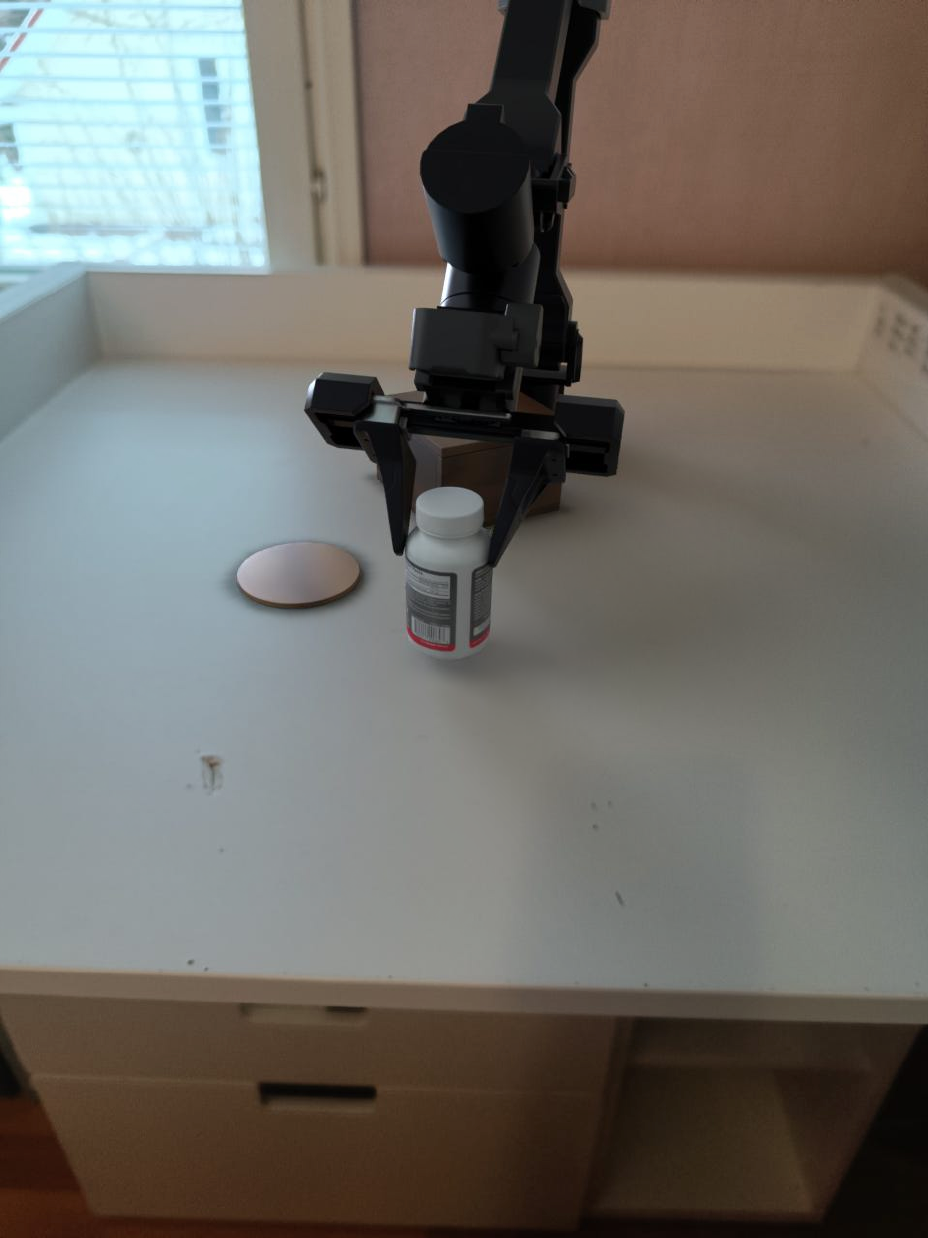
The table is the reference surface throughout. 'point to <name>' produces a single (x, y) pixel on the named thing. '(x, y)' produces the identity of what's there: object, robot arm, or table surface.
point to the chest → (473, 477)
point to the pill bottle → (448, 575)
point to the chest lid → (462, 446)
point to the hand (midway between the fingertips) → (443, 560)
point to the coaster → (298, 575)
